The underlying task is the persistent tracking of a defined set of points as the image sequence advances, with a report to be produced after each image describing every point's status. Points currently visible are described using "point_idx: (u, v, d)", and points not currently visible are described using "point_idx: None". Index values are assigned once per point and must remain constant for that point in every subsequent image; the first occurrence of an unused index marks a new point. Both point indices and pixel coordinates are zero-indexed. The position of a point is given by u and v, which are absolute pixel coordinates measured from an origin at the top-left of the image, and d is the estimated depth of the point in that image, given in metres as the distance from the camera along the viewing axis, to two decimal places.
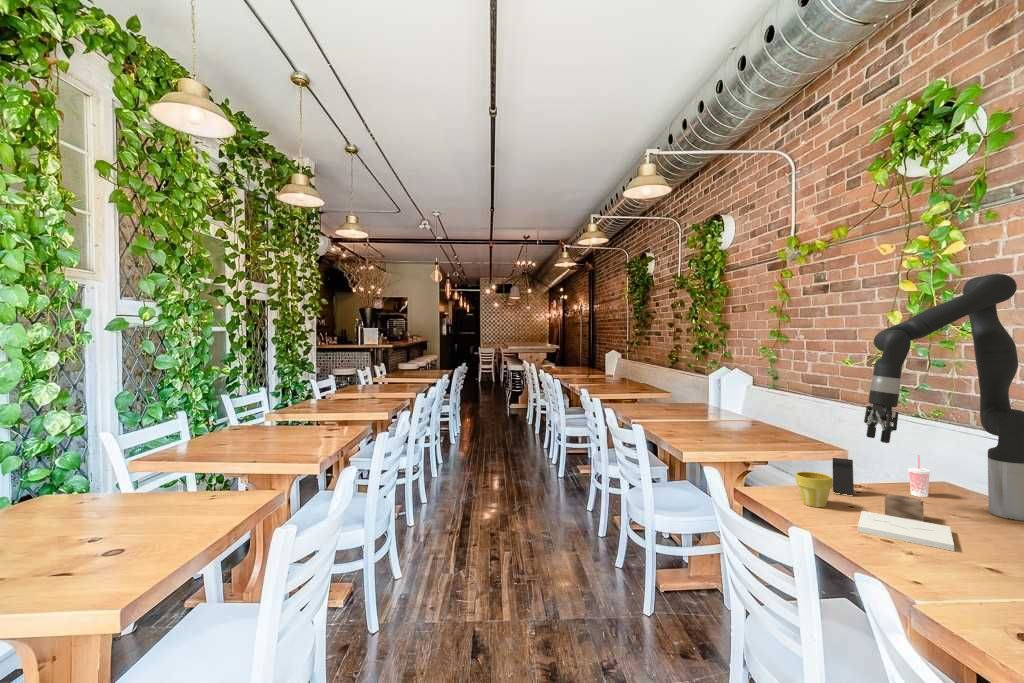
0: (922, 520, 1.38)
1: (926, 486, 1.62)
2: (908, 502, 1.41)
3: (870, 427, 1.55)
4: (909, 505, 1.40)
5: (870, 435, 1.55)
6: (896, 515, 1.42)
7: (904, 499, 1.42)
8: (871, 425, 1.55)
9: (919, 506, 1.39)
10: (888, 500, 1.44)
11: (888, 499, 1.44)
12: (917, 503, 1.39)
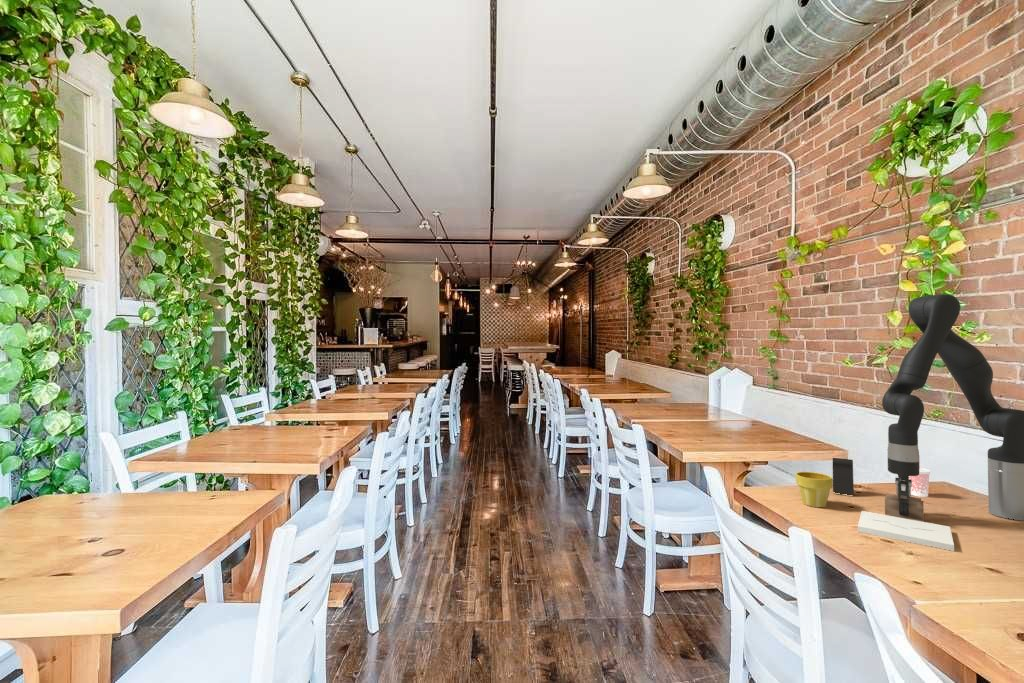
0: (922, 520, 1.38)
1: (926, 486, 1.62)
2: None
3: None
4: (909, 504, 1.40)
5: None
6: (896, 515, 1.42)
7: None
8: None
9: (919, 506, 1.39)
10: (888, 500, 1.44)
11: (888, 499, 1.44)
12: (917, 503, 1.39)
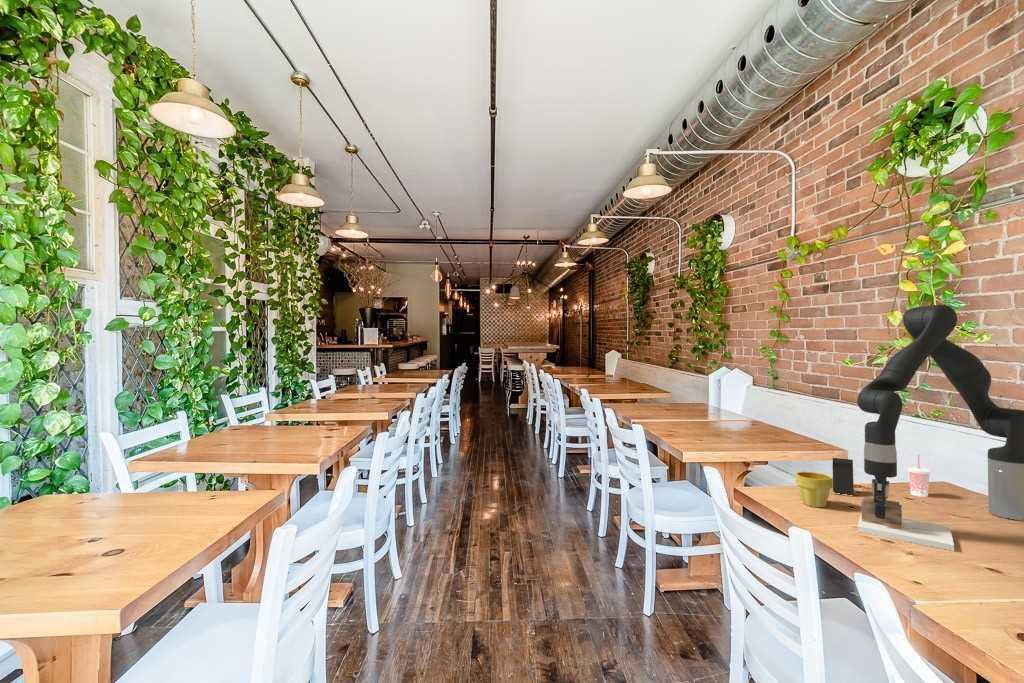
0: (900, 525, 1.30)
1: (926, 486, 1.62)
2: (885, 506, 1.33)
3: (878, 498, 1.38)
4: (886, 509, 1.32)
5: None
6: (873, 519, 1.34)
7: None
8: None
9: (897, 510, 1.31)
10: (865, 503, 1.35)
11: (865, 502, 1.36)
12: (895, 507, 1.31)
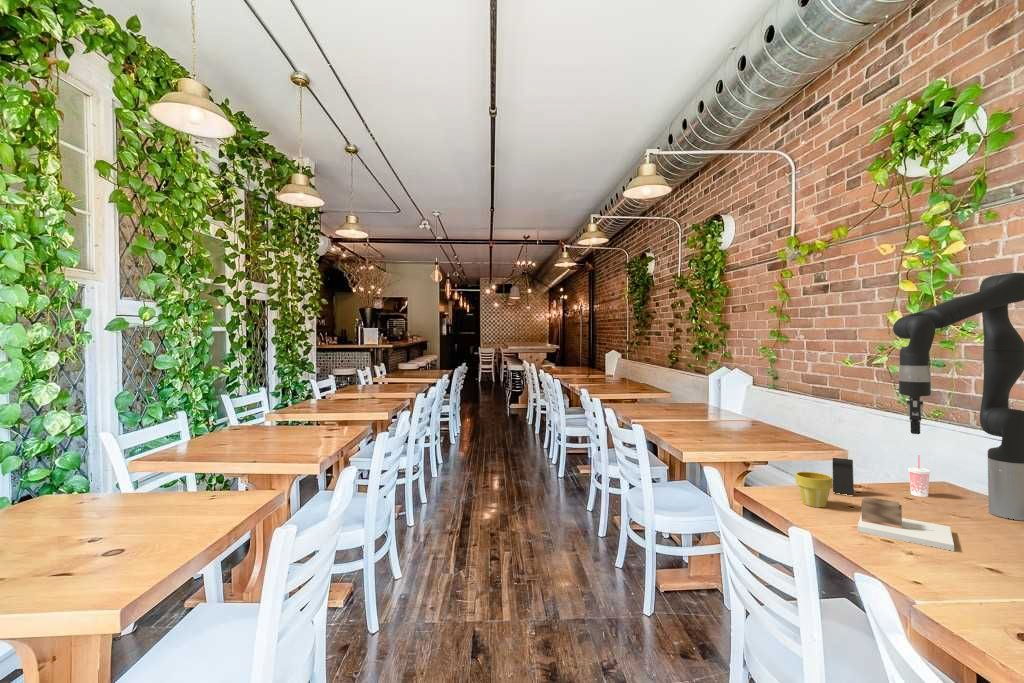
0: (900, 525, 1.30)
1: (926, 486, 1.62)
2: (885, 506, 1.33)
3: None
4: (886, 509, 1.32)
5: None
6: (873, 519, 1.34)
7: (881, 502, 1.34)
8: None
9: (897, 510, 1.31)
10: (865, 503, 1.35)
11: (865, 502, 1.36)
12: (895, 507, 1.31)
